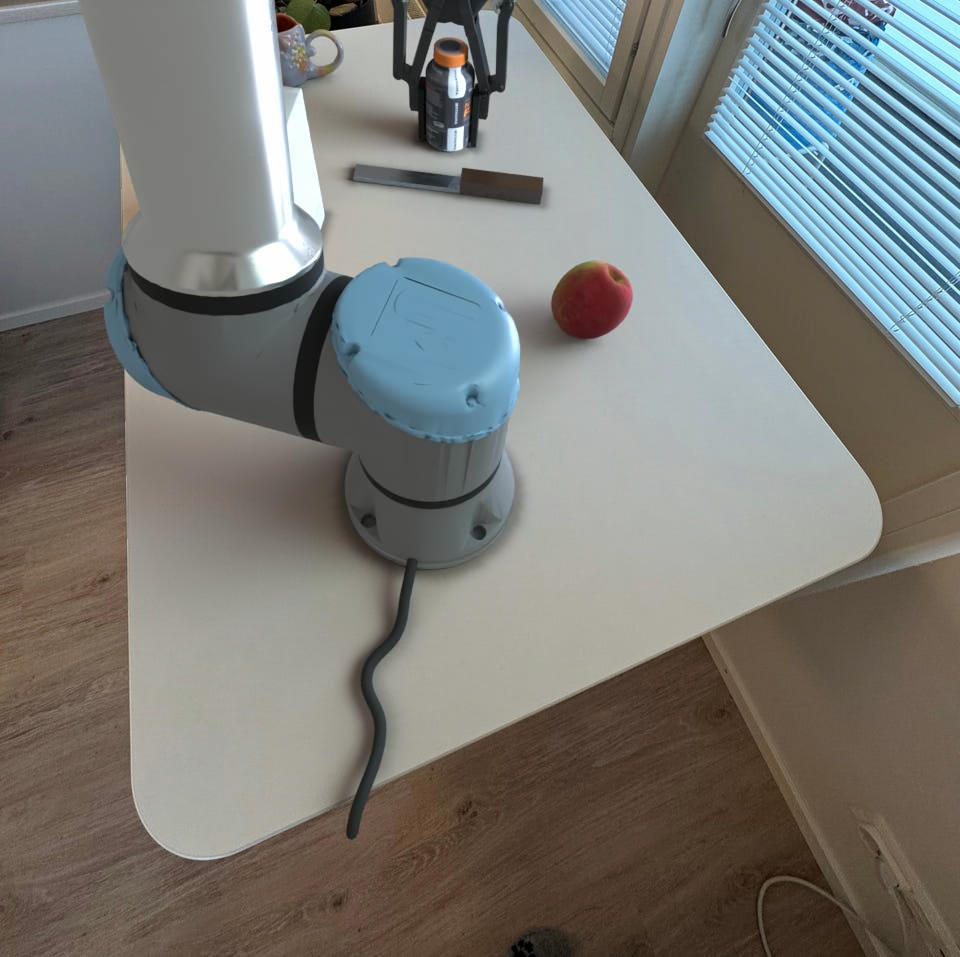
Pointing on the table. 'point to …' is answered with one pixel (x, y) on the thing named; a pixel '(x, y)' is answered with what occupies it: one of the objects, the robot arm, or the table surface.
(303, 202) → the rectangular carton
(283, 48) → the mug
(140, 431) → the table surface
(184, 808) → the table surface
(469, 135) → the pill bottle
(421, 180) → the wooden handled blade
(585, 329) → the apple
